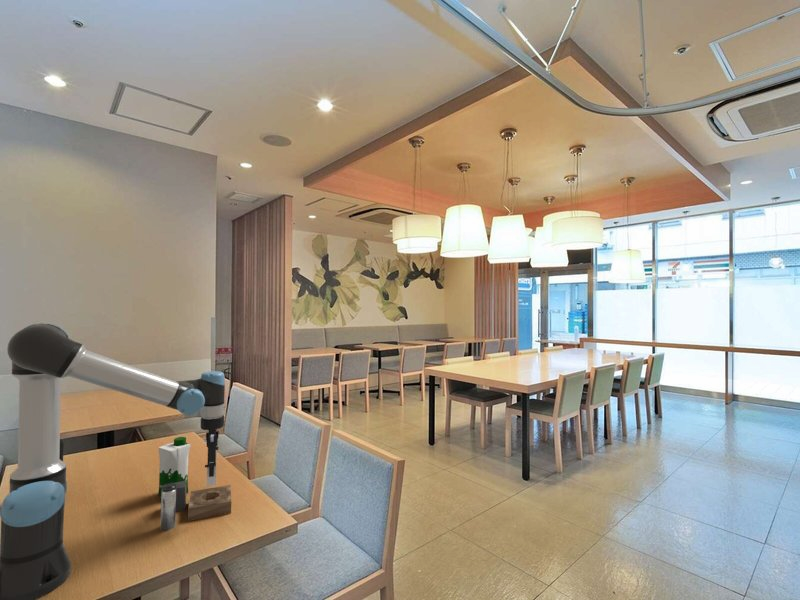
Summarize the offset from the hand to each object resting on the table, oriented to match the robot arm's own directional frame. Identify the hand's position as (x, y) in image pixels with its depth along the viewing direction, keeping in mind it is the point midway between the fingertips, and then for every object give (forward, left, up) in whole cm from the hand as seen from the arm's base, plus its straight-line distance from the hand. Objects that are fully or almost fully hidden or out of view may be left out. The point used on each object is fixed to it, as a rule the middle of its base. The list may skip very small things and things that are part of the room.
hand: (211, 477), depth 137 cm
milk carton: (+16, +13, -11) cm, 23 cm away
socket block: (0, 0, -11) cm, 11 cm away
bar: (+4, +11, -11) cm, 16 cm away
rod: (-8, +12, -11) cm, 18 cm away
